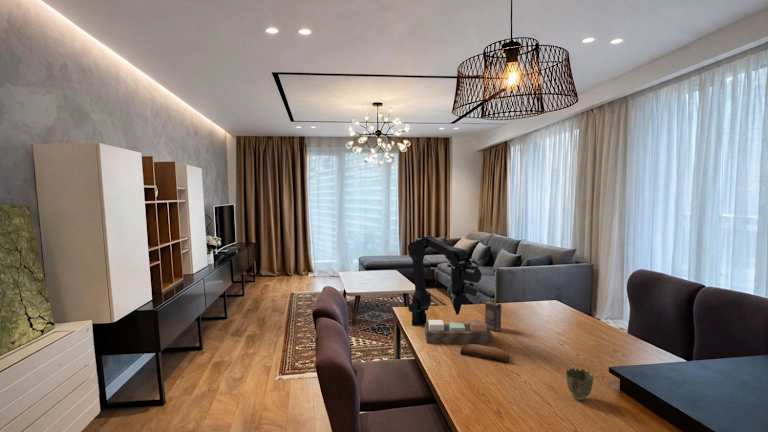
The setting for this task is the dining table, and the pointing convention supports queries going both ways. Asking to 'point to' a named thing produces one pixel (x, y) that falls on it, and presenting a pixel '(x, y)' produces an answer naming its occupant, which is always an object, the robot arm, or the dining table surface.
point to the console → (458, 336)
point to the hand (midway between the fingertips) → (457, 314)
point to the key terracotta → (478, 325)
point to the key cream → (436, 325)
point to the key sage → (456, 327)
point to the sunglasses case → (485, 352)
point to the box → (493, 316)
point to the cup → (579, 383)
